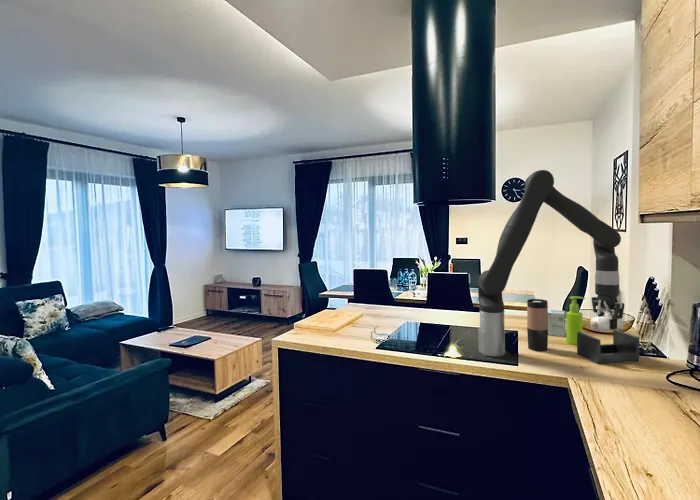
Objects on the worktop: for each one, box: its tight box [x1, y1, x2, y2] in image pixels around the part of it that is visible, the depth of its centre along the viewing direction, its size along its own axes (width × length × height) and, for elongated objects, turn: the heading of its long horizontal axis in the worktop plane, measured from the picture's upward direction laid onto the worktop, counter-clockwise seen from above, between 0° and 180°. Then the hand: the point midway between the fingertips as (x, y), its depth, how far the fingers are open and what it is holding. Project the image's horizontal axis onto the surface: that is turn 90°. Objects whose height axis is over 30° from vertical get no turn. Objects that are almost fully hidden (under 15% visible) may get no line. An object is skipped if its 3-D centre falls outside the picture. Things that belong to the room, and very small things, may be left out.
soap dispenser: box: [565, 295, 586, 346], centre depth 159 cm, size 6×7×20 cm
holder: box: [576, 329, 640, 365], centre depth 142 cm, size 16×11×9 cm
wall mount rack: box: [370, 325, 403, 344], centre depth 176 cm, size 16×14×6 cm
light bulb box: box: [548, 309, 566, 338], centre depth 175 cm, size 11×7×11 cm, turn 58°
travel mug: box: [526, 298, 549, 352], centre depth 154 cm, size 8×8×20 cm
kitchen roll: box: [590, 315, 624, 332], centre depth 141 cm, size 11×5×5 cm
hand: (607, 326), depth 141 cm, fingers closed on kitchen roll, 5 cm apart
